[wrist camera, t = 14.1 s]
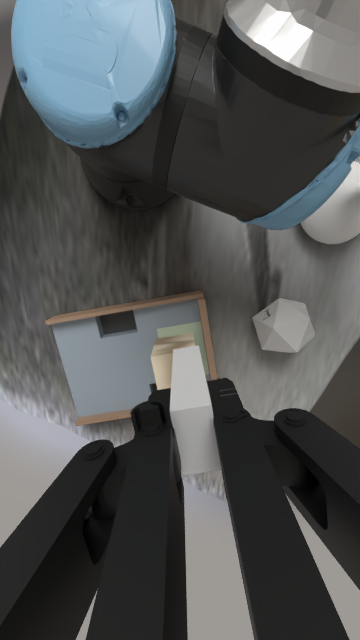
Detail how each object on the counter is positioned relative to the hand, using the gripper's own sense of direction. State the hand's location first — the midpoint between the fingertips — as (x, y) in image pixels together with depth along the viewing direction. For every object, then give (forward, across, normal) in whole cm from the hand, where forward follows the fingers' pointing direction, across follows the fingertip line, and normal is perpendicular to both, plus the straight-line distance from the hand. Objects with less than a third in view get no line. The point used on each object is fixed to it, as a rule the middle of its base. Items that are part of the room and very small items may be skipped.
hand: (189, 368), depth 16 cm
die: (+30, +14, -7) cm, 34 cm away
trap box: (+29, -9, -9) cm, 32 cm away
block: (+27, -2, -9) cm, 28 cm away
